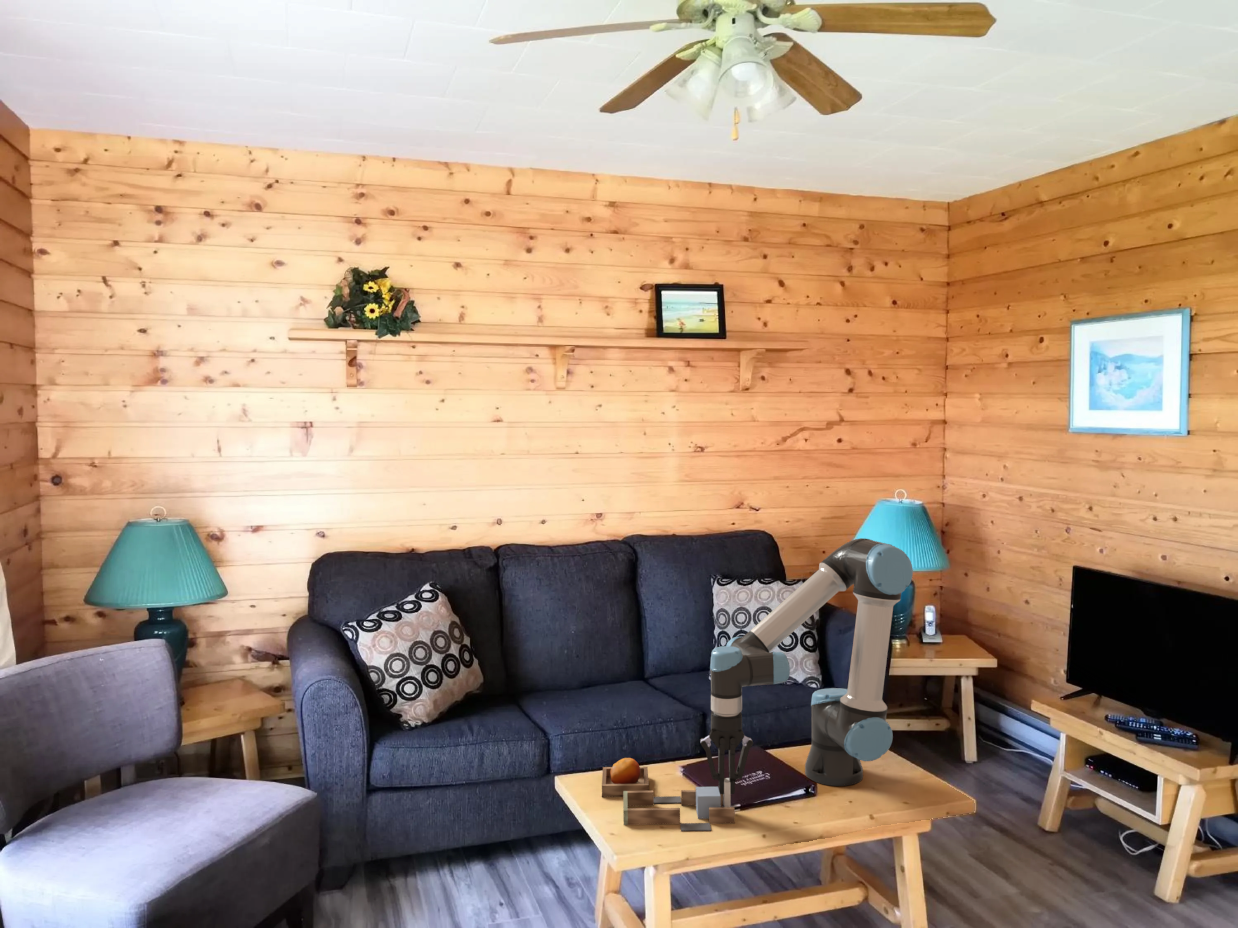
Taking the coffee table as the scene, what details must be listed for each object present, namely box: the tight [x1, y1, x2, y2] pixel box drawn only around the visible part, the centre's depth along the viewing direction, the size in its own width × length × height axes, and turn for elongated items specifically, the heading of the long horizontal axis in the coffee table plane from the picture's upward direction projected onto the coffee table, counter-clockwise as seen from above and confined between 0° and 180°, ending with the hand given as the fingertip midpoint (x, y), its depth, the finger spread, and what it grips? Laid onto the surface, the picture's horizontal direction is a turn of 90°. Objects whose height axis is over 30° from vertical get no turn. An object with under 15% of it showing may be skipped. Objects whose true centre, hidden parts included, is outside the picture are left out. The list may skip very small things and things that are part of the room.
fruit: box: [610, 757, 641, 784], centre depth 238 cm, size 8×8×8 cm
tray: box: [601, 766, 650, 798], centre depth 238 cm, size 12×12×3 cm
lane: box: [622, 789, 736, 832], centre depth 222 cm, size 26×18×4 cm
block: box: [695, 786, 722, 820], centre depth 222 cm, size 6×6×6 cm
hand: (726, 805), depth 222 cm, fingers closed
